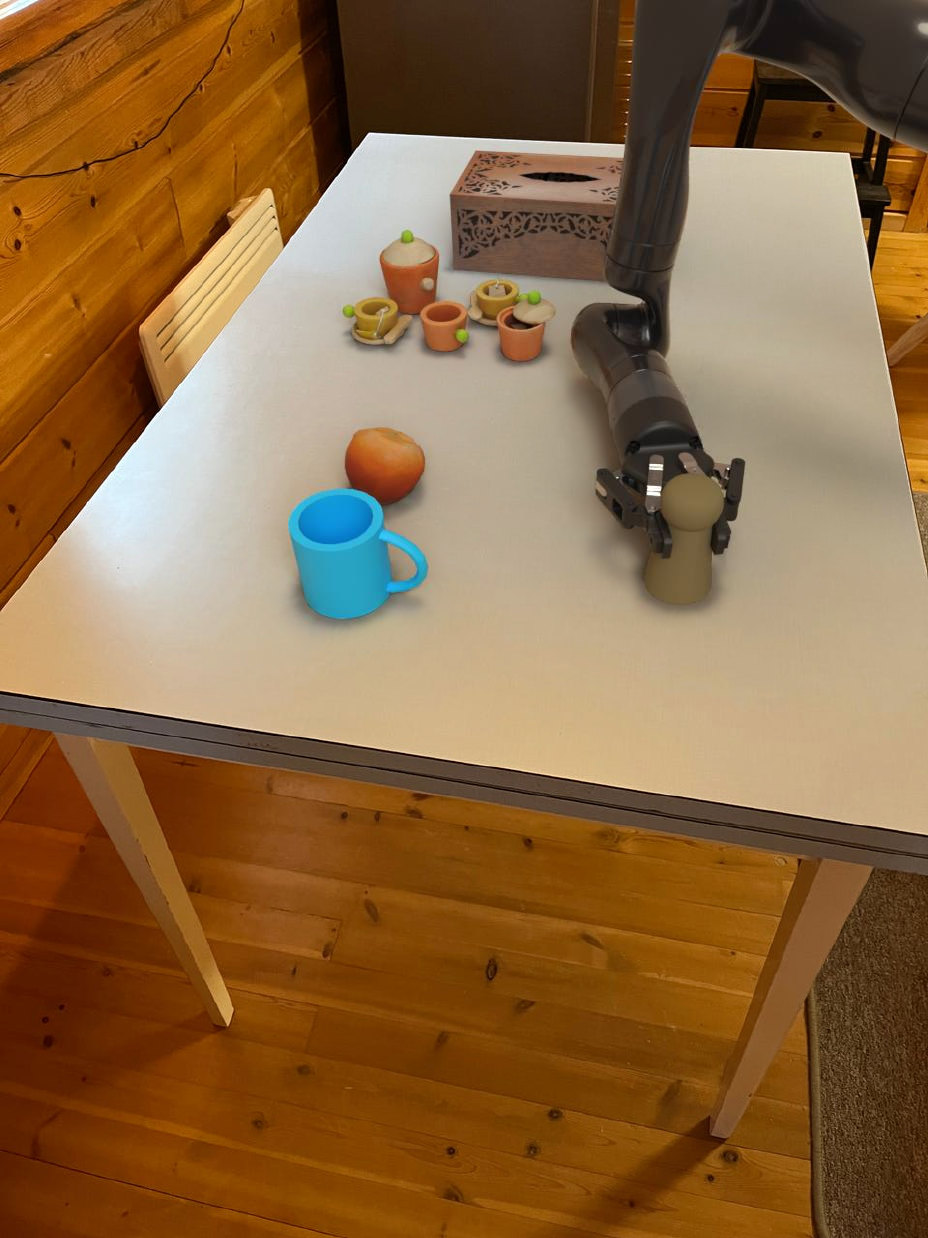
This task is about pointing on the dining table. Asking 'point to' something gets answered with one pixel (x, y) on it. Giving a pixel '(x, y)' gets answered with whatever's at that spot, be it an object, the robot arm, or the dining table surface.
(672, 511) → the cork
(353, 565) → the mug
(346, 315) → the toy tea set
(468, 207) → the tissue box cover
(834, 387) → the dining table surface
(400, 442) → the fruit
